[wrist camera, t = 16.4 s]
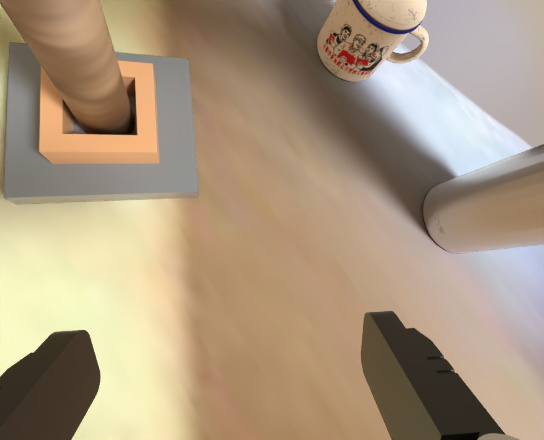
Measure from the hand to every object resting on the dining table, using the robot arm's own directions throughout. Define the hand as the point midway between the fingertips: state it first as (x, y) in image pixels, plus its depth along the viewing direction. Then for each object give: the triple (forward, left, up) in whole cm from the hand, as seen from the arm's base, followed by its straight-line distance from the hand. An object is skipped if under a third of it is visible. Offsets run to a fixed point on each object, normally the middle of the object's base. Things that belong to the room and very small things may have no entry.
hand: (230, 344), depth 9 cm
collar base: (+7, -17, -20) cm, 27 cm away
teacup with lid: (-22, -28, -21) cm, 41 cm away
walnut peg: (+7, -17, -18) cm, 26 cm away
